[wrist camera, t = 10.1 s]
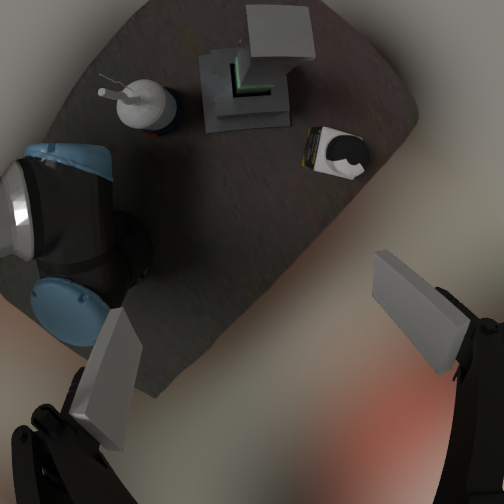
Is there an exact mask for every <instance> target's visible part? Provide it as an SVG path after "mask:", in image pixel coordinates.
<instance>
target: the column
mask: <svg viewBox="0 0 504 504" xmlns="http://www.w3.org/2000/svg"><path fill="white" fill-rule="evenodd" d="M244 15H245V24H246V25H245V28H244V32H243V36H242V39H241V43H240V47H239V51H238V55H237V57H235V67H234V78H235V89H236V95H248V94H264V93H265V92H267V91H268V90H269V89H272V88H274V84H276V83H277V82H278V81H279V80H280V79H281V78H282V77H284V76H285V75H286V74H287V73H288V72H289V71H291V70H292V69H293V68H294V67H295V66H297V65H298V64H299V63H300V62H302V61H312V60H313V59H314V58H316V56H315V49H314V41H313V34H312V28H311V22H310V16H309V10H308V7H303V6H289V5H246V6H245V10H244Z"/></svg>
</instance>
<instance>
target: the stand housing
mask: <svg viewBox="0 0 504 504" xmlns="http://www.w3.org/2000/svg"><path fill="white" fill-rule="evenodd" d="M240 43H241V39H240V40H239V47H240ZM238 51H239V48H228V49H217V50H211V54H207V55H199V67H200V78H201V89H202V100H203V110H204V120H205V129H206V133H214V132H222V131H231V130H241V129H252V128H266V127H283V126H290V114H289V111H290V106H289V95H288V85H287V75H285V76H284V77H282V78H281V79H280V80H279V81H278V82H277V83H276V84H274V88H272V89H269V90H268V91H267V92H265V93H264V94H261V96H250V97H237V98H233V93H232V83H231V76H234V67H235V57H237V55H238Z"/></svg>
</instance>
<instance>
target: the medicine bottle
mask: <svg viewBox="0 0 504 504" xmlns="http://www.w3.org/2000/svg"><path fill="white" fill-rule="evenodd" d="M369 159H370V155H369V150H368V147H367V145H366V144H365V142H364V141H363V139H362V138H361V137H358V136H354V135H351V134H348V133H345V132H341V131H338V130H335V129H331V128H328V127H310V128H309V132H308V137H307V142H306V147H305V152H304V157H303V162H302V166H304V167H307V168H309V169H312V170H314V171H318V172H322V173H326V174H331V175H335V176H339V177H343V178H347V179H351V180H353V179H354V178H355V176H358V175H360V174H361V173H363V172H364V171H365V169H366V168H367V166H368V163H369Z"/></svg>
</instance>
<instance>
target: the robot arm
mask: <svg viewBox="0 0 504 504" xmlns="http://www.w3.org/2000/svg"><path fill="white" fill-rule="evenodd" d="M24 156H25V158H22V159H17V160H13V161H11V162H10V164H9V166H8V167H7V168H6V170H5V171H4V173H3V174H2V176H0V258H1V257H4V256H6V255H9V254H11V253H13V254H16V255H17V256H19V257H21V258H22V259H24V260H26V261H31V260H33V259H36V261H37V266H38V271H39V276H40V279H39V280H38V281H36V282H35V284H34V287H33V290H32V292H31V305H32V309H33V311H34V313H35V315H36V317H37V319H38V320H39V322H40V323H41V324H42V325H43V327H44V328H46V329H47V330H48V331H49V332H50V333H52V334H53V335H54V336H55V337H57V338H58V339H60V340H62V341H64V342H66V343H69V344H72V345H76V346H92V345H94V347H93V350H92V352H91V355H90V357H89V360H88V362H87V365H86V367H81V368H80V369H79V370H78V372H77V373H76V374H75V375H74V378H73V380H72V383H71V386H70V388H69V393H67V396H66V399H65V402H64V404H63V407H62V410H61V413H59V412H58V411H57V410H56V409H55V408H54V407H53V406H52V405H50V404H43V405H41V406H39V407H38V408H37V409H35V411H34V412H33V414H32V418H31V424H32V425H33V426H34V427H35V428H36V429H37V430H38V431H36V432H33V431H32V430H31V429H30V428H29V427H28V426H26V425H22V426H19V427H17V429H15V431H14V432H13V435H12V439H11V442H12V443H11V446H12V468H13V479H14V487H15V494H16V501H17V504H138V503H137V502H136V500H135V499H134V498H133V497H132V495H131V494H130V493H129V491H128V490H127V489H126V488H125V486H124V485H123V483H122V482H121V481H120V479H119V478H118V476H117V475H116V474H115V472H114V471H113V469H112V468H111V466H110V465H109V463H108V462H107V460H106V459H105V457H104V456H103V454H102V453H101V452H100V451H99V445H100V444H101V445H102V446H103V447H104V448H105V449H107V450H111V451H123V445H124V439H125V433H126V426H127V420H128V415H129V409H130V404H131V399H132V394H133V389H134V384H135V379H136V374H137V370H138V365H139V361H140V357H141V352H142V348H143V347H142V345H141V343H140V341H139V339H138V337H137V335H136V333H135V331H134V329H133V327H132V325H131V323H130V321H129V319H128V317H127V315H126V313H125V310H124V308H123V307H122V308H120V306H121V304H122V302H123V300H124V297H125V295H126V293H127V291H128V290H129V289H130V288H132V287H133V286H135V285H137V284H138V283H139V282H140V281H142V279H143V278H144V277H145V276H146V274H147V272H148V270H149V268H150V266H151V263H152V259H153V246H152V242H151V239H150V236H149V234H148V232H147V231H146V229H145V228H144V227H143V225H142V224H141V223H140V222H139V221H138V220H136V219H135V218H134V217H132V216H130V215H129V214H126V213H124V212H120V211H113V197H112V183H114V178H113V177H112V157H111V154H110V152H109V150H108V149H107V148H105V147H103V146H99V145H91V144H74V143H57V144H54V143H51V144H46V143H42V144H31V145H28V146H27V147H26V151H25V152H24ZM372 296H373V298H374V299H375V300H376V301H377V302H378V303H379V304H380V305H381V307H382V308H383V309H384V310H385V311H386V312H387V313H388V315H389V316H390V317H391V318H392V319H393V320H394V322H395V323H396V324H397V325H398V326H399V328H400V329H401V330H402V331H403V332H404V333H405V335H406V336H407V337H408V338H409V340H410V341H411V342H412V343H413V344H414V345H415V347H416V348H417V349H418V350H419V352H420V353H421V354H422V355H423V357H424V358H425V359H426V360H427V362H428V363H429V364H430V365H431V367H432V368H433V369H434V371H435V372H436V373H437V374H438V376H440V375H442V374H444V373H445V372H447V371H449V370H450V369H452V367H453V364H454V362H455V360H457V361H458V362H459V366H458V369H457V371H456V373H455V375H454V377H453V381H455V379H456V377H457V388H456V398H455V407H454V416H453V422H452V429H451V435H450V440H449V445H448V450H447V455H446V459H445V463H444V467H443V471H442V475H441V479H440V482H439V486H438V489H437V492H436V495H435V498H434V501H433V504H504V491H503V489H502V486H503V479H504V322H503V323H499V324H498V323H497V322H496V321H494V320H493V319H490V318H482V319H479V318H478V317H476V315H474V314H473V313H472V312H471V311H470V310H469V309H468V308H467V307H465V306H464V305H463V304H462V303H460V302H459V301H458V300H457V299H456V298H454V296H452V295H451V294H450V293H449V292H448V291H446V290H444V289H442V288H440V287H435V288H434V287H432V286H431V285H430V284H429V283H428V282H426V281H425V280H424V279H423V278H422V277H420V276H419V275H418V274H417V273H415V272H414V271H413V270H412V269H411V268H409V267H408V266H407V265H406V264H404V263H403V262H402V261H400V260H399V259H398V258H397V257H395V256H394V255H392V254H391V253H390V252H389V251H387V250H383V251H379V252H375V253H374V277H373V293H372ZM42 469H43V471H44V475H43V472H42Z"/></svg>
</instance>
